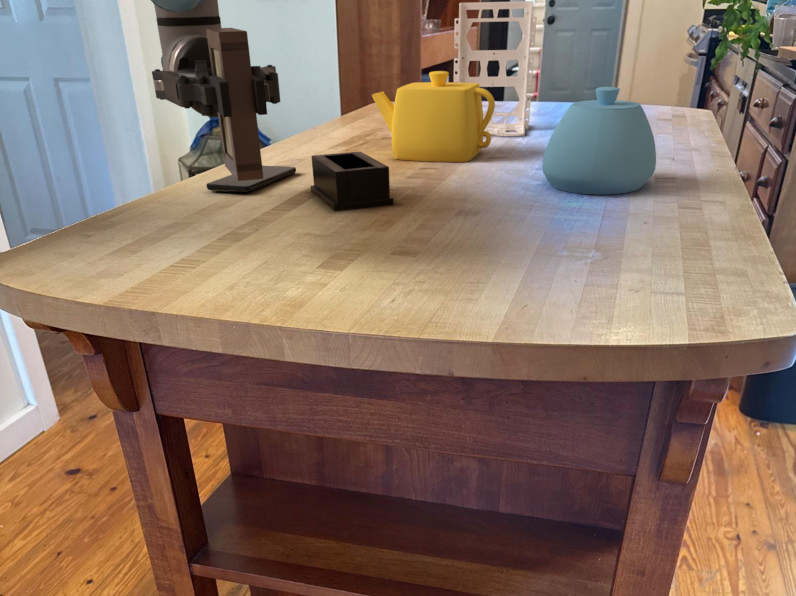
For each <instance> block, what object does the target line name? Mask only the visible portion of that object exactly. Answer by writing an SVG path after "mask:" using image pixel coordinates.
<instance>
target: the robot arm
mask: <svg viewBox="0 0 796 596" xmlns="http://www.w3.org/2000/svg"><path fill="white" fill-rule="evenodd" d="M150 1H151V2H152V3H153V6H154V11H155V16H156V26H157V31H158V37H159V43H160V49H161V57H160V64H161V67H162V69H160V68H155V69H154V70H151V76H152V81H153V87H154V92H155V97H156V99H158V100H162V101H164V100H165V101H168V102H169V103H172V104H173V105H176V106H178V107H181V108H184V109H190V108H191V109H192V110H194V111H195V112H196V113H198V114H200V115H201V116H202V117H208V118H218V113H220V114H221V115H222V116H223V117H232V110H231V102H230V95H229V87H228V82H227V81H225V80H223V79H222V78H220V77H218V76H212V69H211V62H210V55H209V47H208V40H207V33H206V29H207V28H222V21H221V15H220V8H219V1H218V0H150ZM251 72H252V81H253V90H254V99H255V108H256V115H259V116H265V115H267V116H268V109H267V108H268V107H267V103H271V104H272V105H277V104H279V103H281V93H280V92H281V91H280V82H279V73H278V72H277V68H276V66H275V65H273V64H267V65H265V66H261V65H251Z"/></svg>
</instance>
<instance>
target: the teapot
mask: <svg viewBox="0 0 796 596" xmlns="http://www.w3.org/2000/svg"><path fill="white" fill-rule="evenodd" d="M449 74H450V72H448V71H445V70H434V71H430V72H429V73H428V76H429V79H430V81H427V82H424V81H423V82H422V81H421V82H418V81H417V82H416V81H415V82H411V83H408V84H404V85H402V86H399V87H398V88H397V90H396V93H395V98H394V103H392V101H391V100H390V99H389V97H388V96H387V95H386V94H385V91H380V92H376V93H372V94H371V97H372V99H373V102H374V103H375V105H376V107H377V109H378V111H379V113H380V115H381V116H382V119H383V121H384V122H385V124H386V126H387V128H388V130H389V131H390V134H391V149H392V150H391V151H392V154H393V158H394V160H400V161H411V162H412V161H413V162H429V163H430V162H433V163H436V162H437V163H466V162H470V161H471V160H473V159H474V158H475V157H476V156H477V155H479V153H480V152H481V150H482V149H486V148H488V147H489V146H490V144H491V142H492V135H490V133H489V132H487V131H484V130H485V128H486V127H487V125H488V123H489V121H490V119H491V117H493V116H492V115H493V113H495V107H496V102H495V98H494V96H493V94H492V93H491V92H490V91H489V90H487V89H485V88H484V87H480V85H479V83H457V82H454V81H453V82H450V81H449V82H448V78H449ZM482 97H483V98H485V99H486V100H487V105H488V106H487V110H486V112H485V113H486V115H485V116H483V113H484V109H483V108H484V107H483V99H482ZM484 137H485V139H486V140H485V141H484Z"/></svg>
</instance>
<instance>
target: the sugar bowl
mask: <svg viewBox="0 0 796 596" xmlns="http://www.w3.org/2000/svg"><path fill="white" fill-rule="evenodd" d="M620 90H621V89H620V88H619V87H617V86H599V87H597V88H595V95H596V99H591V100H580V101H576V102H572V104H570V106H569V107H568V108H567V110H566V111H565V112H564V114H563V115H562V116H561V118H560V120H559V122H558V123H557V125H556V126H555V128H554V130H553V131H552V133H551V136H550V138H549V140H548V142H547V145H546V148H545V151H544V155H543V159H542V165H541V170H542V173H543V174H544V176H545V178H546V180H547V181H548V182H549V184H550V185H551V187H552V188H554V189H556V190H560V191H563V192H567V193H573V194H580V195H581V194H582V195H583V194H584V195H598V196H599V195H600V196H601V195H620V194H626V193H632V192H635V191H639V189H641V188H642V187H643V186H645V184H646V183H647V182H648V181H649V180H650V179H651V178H652V176H653V175H654V173H655V171H656V165H657V149H656V142H655V137H654V133H653V129H652V127H651V124H650V122H649V119H648V117H647V113H646V112H645V111H644V108H643V106H642V105H641V104H640V103H639V102H636V101H630V100H620V99H617V97H618V96H619V93H620Z"/></svg>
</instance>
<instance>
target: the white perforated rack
mask: <svg viewBox="0 0 796 596" xmlns="http://www.w3.org/2000/svg"><path fill="white" fill-rule="evenodd" d="M458 6H459V8H458V10H459V11H458V17H457V18H454V34H453V35H454V37H453V39H454V43H453V47H454V49H457V50H458V52H457V53H458V55H457V57H455V58H453V82H455V83H479V85H480V88H488V87H489V88H494V87H495V88H496V87H497V88H499V87H500V88H501V87H502V88H503V87H506V88H507V87H513V88H514V91H515V92H516V95H517V98H518V101H517V104H516V105H515V107H514V109H513V111H512V112H493V115H492V117H491V119H490V121H489V123H488V125H487V127H486V128H485V130H484V131H487V132H489V133H490V135H491V136H495V137H522V136H525V135H526V131H528V130H529V128H530V127H529V126H530V125H529V123H530V117H531V116H530V115H531V114H530V113H531V102H532V101H531V100H532V96H531V95H528V87H532V86H533V72H534V57H533V56H530V54H531V53H530V52H531V48H535V45H536V31H537V18H538V17H537V16H533V9H534V1H533V0H524V1H523V0H522V1H519V0H518V1H483V2H482V1H479V2H478V1H477V2H459V4H458ZM522 9H524V14H523V17H521V16H520V17H514V16H513V10H522ZM470 10H471V11H475V10H477V11H478V10H479V11H478V16H477V18H476V17H475V18H474V17H473V18H468V12H467V11H470ZM484 10H492V14H493V17H484V18H483V17H482V14H483V11H484ZM499 10H509V17H498V14H499ZM533 20H534V21H533ZM457 21H458V23H457ZM495 22H499V23H500V22H503V23H504V22H517V23H518V25H519V28H520V31H521V32H522V35H523V36H522V37H521V40H520V42H519V44H518V45H517V48H516V49H492V50H491V49H489V50H488V49H485V50H484V49H483V50H480V49H479V50H473V49H472V48H471V45H470V43H469V41H468V38H467V35H468V33H469V31H470V29H471V27H472V25H473V23H495ZM532 32H533V33H532ZM457 33H458V34H457ZM456 44H457V45H456ZM531 60H532V61H531ZM456 61H457V62H456ZM489 61H490V62H491V61H498V66H499V70H498V75H497V76H489V75H488V65H489ZM508 61H517V65H518V70H517V73H516V75H515V76H507V70H506V68H507V64H508ZM470 62H479V64H480V71H479V75H478V76H470V73H469V66H470ZM530 71H531V72H530ZM529 82H530V83H529ZM528 98H529V99H528ZM527 109H528V110H527ZM486 113H487V112H483V117H485V115H486ZM493 117H504V118H503V123H494V118H493ZM508 117H517V123H516V122H515V123H512V122H511V123H506V122H507V118H508Z"/></svg>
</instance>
